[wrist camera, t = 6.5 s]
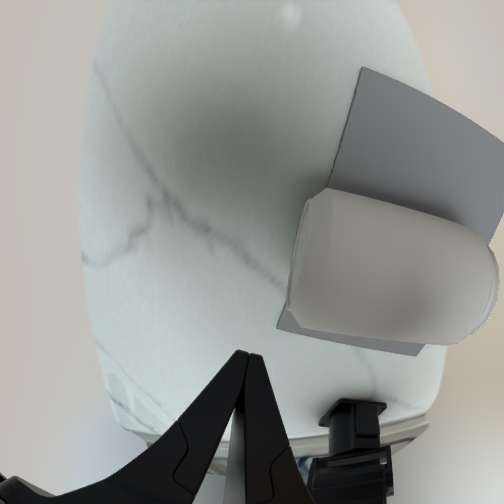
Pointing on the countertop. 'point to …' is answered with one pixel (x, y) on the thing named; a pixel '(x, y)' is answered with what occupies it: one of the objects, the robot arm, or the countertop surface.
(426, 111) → the mat
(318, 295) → the can
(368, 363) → the countertop surface
